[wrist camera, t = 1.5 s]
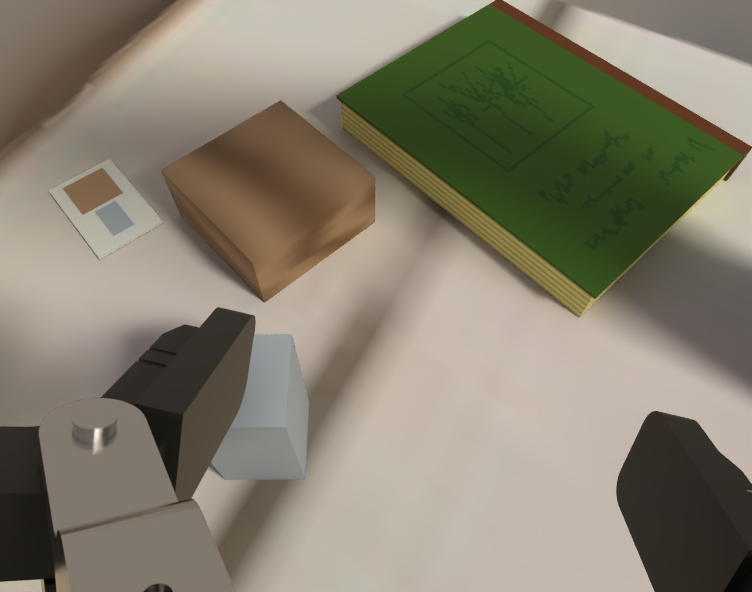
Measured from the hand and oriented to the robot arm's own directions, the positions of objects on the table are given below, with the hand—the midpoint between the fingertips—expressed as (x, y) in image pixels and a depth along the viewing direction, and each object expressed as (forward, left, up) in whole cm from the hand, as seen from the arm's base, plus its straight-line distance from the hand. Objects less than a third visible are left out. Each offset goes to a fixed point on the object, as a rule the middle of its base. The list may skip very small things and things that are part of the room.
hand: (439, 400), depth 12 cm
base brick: (-8, -22, -23) cm, 33 cm away
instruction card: (+1, -31, -22) cm, 39 cm away
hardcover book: (-27, -15, -23) cm, 39 cm away
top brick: (+2, -9, -22) cm, 24 cm away
